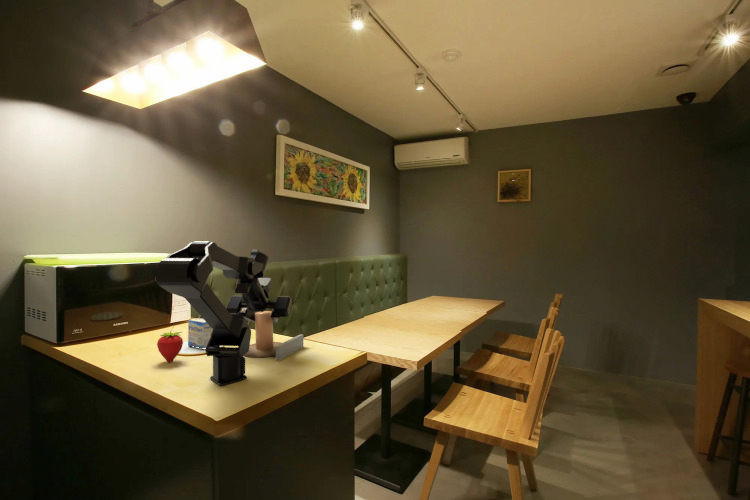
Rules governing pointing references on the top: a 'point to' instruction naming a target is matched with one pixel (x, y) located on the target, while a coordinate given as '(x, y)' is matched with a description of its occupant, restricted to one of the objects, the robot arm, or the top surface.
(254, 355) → the walnut board
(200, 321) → the medicine box
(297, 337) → the grey wall
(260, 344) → the salmon orange cylinder
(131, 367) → the top surface
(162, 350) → the strawberry
